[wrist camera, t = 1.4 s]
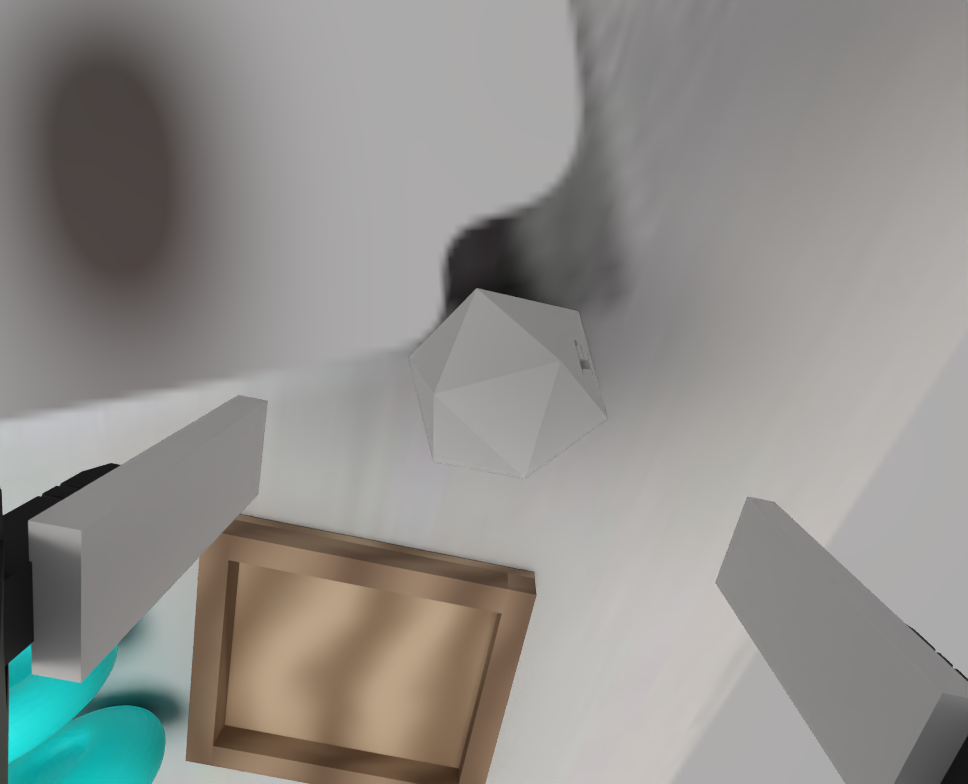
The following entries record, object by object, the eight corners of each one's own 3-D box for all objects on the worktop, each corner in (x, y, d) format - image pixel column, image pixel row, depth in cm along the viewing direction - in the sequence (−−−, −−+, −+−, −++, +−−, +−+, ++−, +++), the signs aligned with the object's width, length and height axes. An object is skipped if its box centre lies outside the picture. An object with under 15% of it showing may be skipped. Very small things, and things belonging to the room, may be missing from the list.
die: (551, 461, 31) (673, 441, 22) (408, 500, 27) (486, 495, 18) (516, 323, 31) (619, 253, 23) (372, 343, 28) (431, 267, 19)
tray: (534, 572, 32) (536, 594, 30) (478, 782, 36) (476, 814, 34) (220, 510, 31) (201, 529, 29) (203, 731, 36) (185, 760, 34)
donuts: (68, 744, 36) (-86, 924, 27) (-2, 622, 34) (-200, 773, 24) (204, 718, 36) (95, 896, 26) (142, 591, 33) (-5, 736, 23)
